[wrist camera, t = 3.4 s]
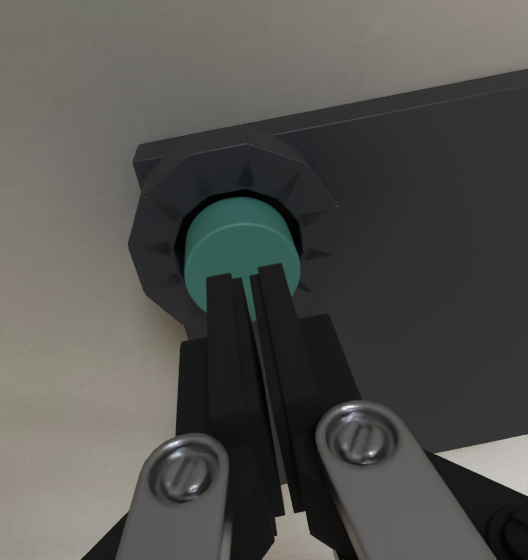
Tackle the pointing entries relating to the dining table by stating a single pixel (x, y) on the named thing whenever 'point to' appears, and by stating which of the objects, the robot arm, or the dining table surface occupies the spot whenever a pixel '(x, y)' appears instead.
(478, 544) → the robot arm
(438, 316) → the scale
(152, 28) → the dining table surface
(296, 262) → the button
